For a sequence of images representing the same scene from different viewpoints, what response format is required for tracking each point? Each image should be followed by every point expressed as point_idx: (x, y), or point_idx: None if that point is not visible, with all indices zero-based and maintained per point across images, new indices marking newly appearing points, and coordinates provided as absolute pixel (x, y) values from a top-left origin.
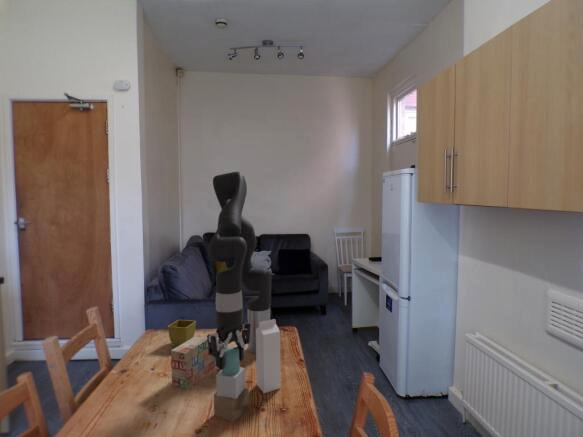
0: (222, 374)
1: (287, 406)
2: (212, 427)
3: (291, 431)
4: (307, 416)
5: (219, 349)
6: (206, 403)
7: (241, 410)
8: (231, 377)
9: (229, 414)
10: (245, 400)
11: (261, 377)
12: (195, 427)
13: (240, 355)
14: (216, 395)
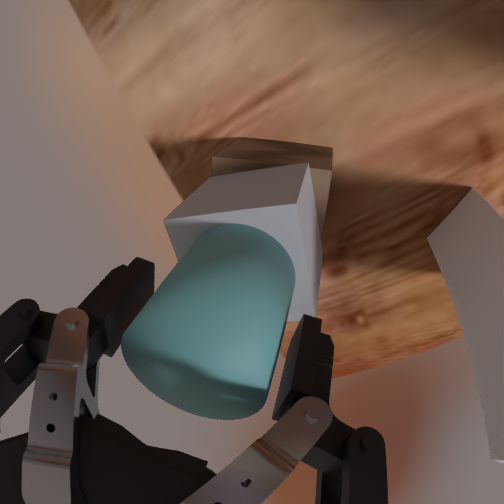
0: (186, 248)
1: (374, 323)
2: (187, 177)
3: (281, 353)
4: (346, 367)
5: (81, 354)
6: (277, 64)
7: None
8: None
9: None
10: None
11: (456, 249)
12: (160, 131)
13: (284, 371)
14: (212, 172)
